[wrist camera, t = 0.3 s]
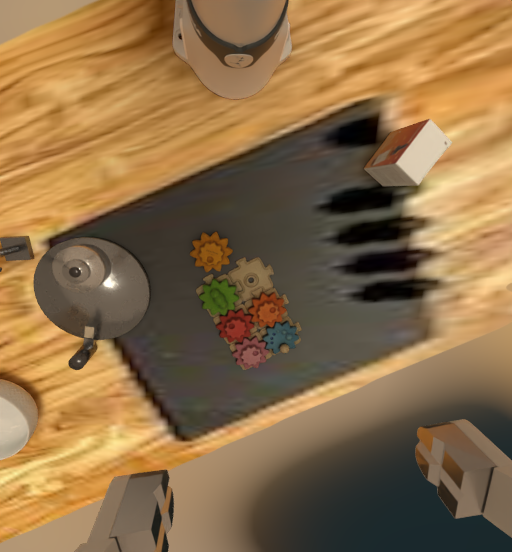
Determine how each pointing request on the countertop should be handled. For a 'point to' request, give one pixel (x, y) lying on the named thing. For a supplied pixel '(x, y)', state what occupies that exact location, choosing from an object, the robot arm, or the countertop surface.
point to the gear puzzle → (244, 317)
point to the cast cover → (81, 268)
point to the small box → (408, 154)
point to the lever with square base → (16, 248)
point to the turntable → (94, 298)
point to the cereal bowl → (15, 418)
